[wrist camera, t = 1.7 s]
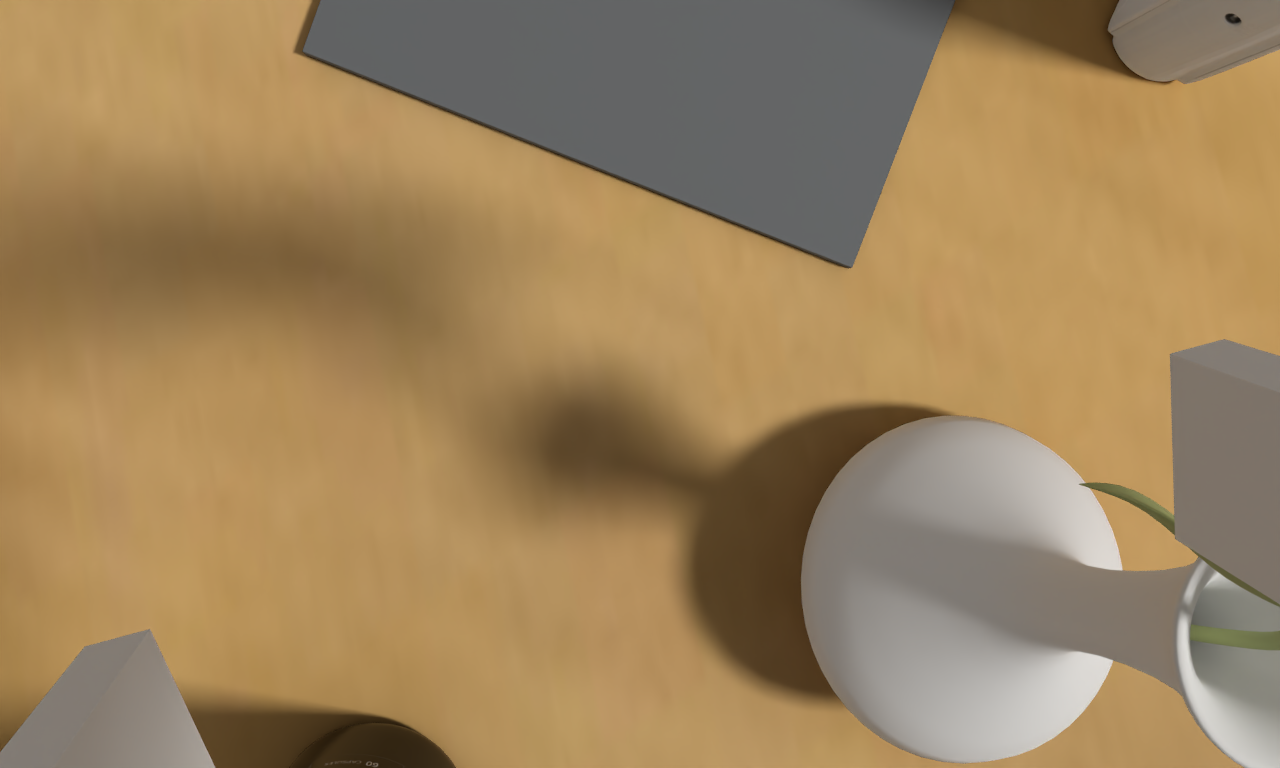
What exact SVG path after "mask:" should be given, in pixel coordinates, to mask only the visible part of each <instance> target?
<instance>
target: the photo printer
mask: <svg viewBox="0 0 1280 768" xmlns="http://www.w3.org/2000/svg"><path fill="white" fill-rule="evenodd" d="M1108 31H1109V32H1110V33H1111V34H1112V35H1113V40H1112V42H1113V46H1114V48H1115V50H1116V52H1117V54H1118V56H1119V57H1120V59H1121V60H1122V61H1123V62H1124V64H1125V65H1126V66H1127V67H1128V68H1129V69H1131V70H1132V71H1133V72H1135V73H1136V74H1138V75H1140V76H1142V77H1144V78H1146V79H1149V80H1153V81H1164V82H1167V81H1172V80H1178V81H1180V82H1182V83H1183V84H1188V83H1192V82H1197V81H1200V80H1203V79H1205V78H1208V77H1210V76H1213V75H1216V74H1218V73H1221V72H1224V71H1227V70H1229V69H1232V68H1234V67H1237V66H1239V65H1242V64H1244V63H1247V62H1249V61H1252V60H1254V59H1257V58H1259V57H1262V56H1264V55H1267V54H1269V53H1272V52H1275V51H1277V50H1280V0H1119V2H1118V4H1117V6H1116V9H1115V11H1114V13H1113V15H1112V18H1111V20H1110V23H1109V26H1108Z"/></svg>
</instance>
